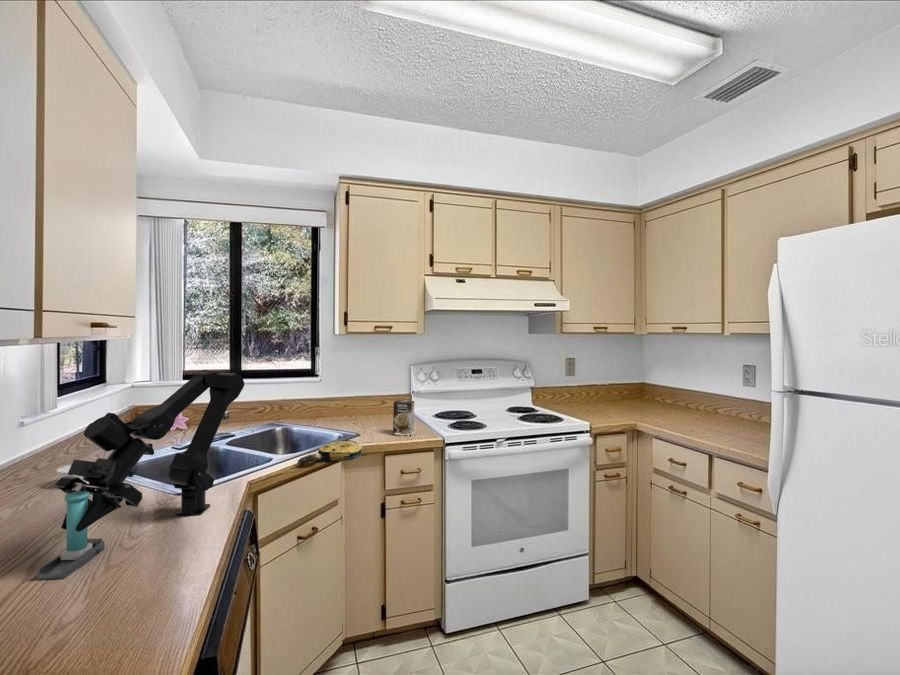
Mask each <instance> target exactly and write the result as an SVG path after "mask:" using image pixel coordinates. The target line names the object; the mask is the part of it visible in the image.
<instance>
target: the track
mask: <svg viewBox="0 0 900 675" xmlns="http://www.w3.org/2000/svg"><path fill="white" fill-rule="evenodd" d="M87 543H93V544H92V548H91V549H90V550H88V551H87V552H86V553H84V554H83V555H81V556H80V557H78V558H77V559H76V560H61V553H60V554H59V555H57V556H56V557H54V558H53V559H51V560H49V561H48V562H46V563H45V564H44V565H42V566H40V567H39V568H37V580H57V579H58V580H59V579H61V580H62V579H66V578H67V577H69V576H70V575H72V574H73V573H74V572H75V571H77V570H78V569H80V568H82V566H84V565H85V564H86V563H88V562H89V561H90V560H92V559H94V557H96V556H97V555H99V554H100V553H101V552H103V551H104V550H105V540H103V538H87Z"/></svg>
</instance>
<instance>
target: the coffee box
mask: <svg viewBox="0 0 900 675" xmlns="http://www.w3.org/2000/svg"><path fill="white" fill-rule="evenodd" d="M414 419H415V401H414V400H399V399H398V400H394V401H393V418H392V420H393V422H392V434H393V433H401V434H411V433H412V432H413V431H415V430H414V429H415V428H414V426H415V425H414V424H415V423H414V422H415V421H414Z"/></svg>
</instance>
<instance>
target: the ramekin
mask: <svg viewBox="0 0 900 675" xmlns="http://www.w3.org/2000/svg"><path fill="white" fill-rule="evenodd" d="M71 465H72V463H70V464H67V465H63V466H61V467H58V468H57V469H56V472H55V473H56V475H57V478H58V481H59V480H60V478H62V477H66V476H71V477H79V478H80V479H82V480H83V476H77V475H68V472H69V469H70V467H71ZM83 481H84V482H86V483H89V482H88V481H85V480H83Z"/></svg>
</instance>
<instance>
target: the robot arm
mask: <svg viewBox="0 0 900 675" xmlns="http://www.w3.org/2000/svg"><path fill="white" fill-rule="evenodd" d="M244 387H245V381H244V379H243V376H242V375H241V374H239V373H228V372H219V373H217V374H214V373H211V372H204V371H203V372H201V371H199V372H196V373H194V375H193V376H192V377H191V378H190V379H188V381H187V382H186V383H184V384H183V385H182V386H181V387H179V388H178V389H177V390H176V391H174V393H173V394H171V395H170V396H169V397H167V399H165V400H164V401H163V402H162V403H160V404H158V405H157V406H154V407H150V408H149V409H146V410H144V411H143V412H142V413H140V414H138V415H137V416H135V417H133V419H132V420H130V421H127V422H124V421H123V420H122V419H121V418H120V417H119V416H118V415H117V414H116V413H114V412H107V413H106V414H105V415H104V416H102V417H99V418H97V419H96V420H94V421H92V422H90V423H89V424H88V425H87V426H86V427H85V430H84V431H83V436H84V437H85V438H86V439H88V440H89V441H90V442H92V443H93V444H94V445H95V446H97V447H98V448H100V449H101V450H103V451H104V452H110V451H112V452H111V453H110V454H109V456H108V457H107V458H101V457H98V458H97V459H96V460H95V461H90V460H89V461H88V460H82V459H73V461H72V463H71V464H72V465H71V464H70V465H71V467H70V469H69V472H68V475H77V476H83V480H85V481H88V482H89V484H87V483H86V482H84V481H83V480H82V479H80V478H79V477H71V476H66V477H62V478H60V480H59V479H58V481H57V482H56V483H55V485H54V487H55V488H56V489H58V490H60V491H61V492H63V493H64V494H65V495H67V494H70V493H73V492H79V491H88V492H89V497H88V510H87V511H86V513H85V514H84V516H83V517H82V519H81V520H80V522H79V523H78V525H77V527H76V529H75V530H76V531H78V532H80V531H82V530H83V529H85V528H86V527H87V528H88V527H89V526H91V525H92V524H94V523H96V522H97V521H98V520H100V519H101V518H103V517H105V516H107V515H109V514H110V513H112V512H113V511H115V510H118V509H121V508H122V505H121V503H122V501H123V500H125V506H127V507H133V508H137V507H138V506H139V504H140V503H141V502H142V501H143V493H142V492H141V491H140V490H138V488H136V487H134V486H133V485H132V484H131V483H128V482H127V483H126V482H125V480H127V478H133V476H135V472H134V471H133V469H135V467H136V466H137V464H138V463H139V461H140V460H141V459H142V457H143V456H144V455H146V456H153V455H155V450H154V448H153V446H154V444H153V443H148V442H147V443H146V442H145V441H143V439H145V440H150V441H151V440H152V441H153V440H154V441H157V440H160V439H162V438H164V437H165V436H167V434H168V432H170V431H171V430H170V429H171V428H172V426H173V425H174V421H175V418H176V417H177V416H178V415H179V414H180V413H181V412H182V413H183V411H184V410H185V409H187V408H188V407H189V406H190V405H192V404H193V403H194V401H195V400H197V399H198V398H199V397H201V396H202V395H203V393H204V392H206V391H207V390H208V389H209V390H208V391H209V399H210V400H209V403H207V404H208V405H207V407H206V408H205V411H204V412H203V416H202V417H201V419H200V421H199V424H198V426H197V428H196V431H195V432H194V434H193V437H192V439H191V441H190V443H189V445H188V447H187V448H186V450H185V451H183V452H182V453H179V452H177V453H176V454H175V455H174V458H173V460H172V462H171V464H170V465H169V466H168V469H169V471H168V477H169V481H171V483H172V485H173V488H175V489H179V490H180V491H181V492H180V494H181V496H180V497H181V503H180V504H181V505H180V506H181V508H180V509H179V510H178V511H176V512H175V516H197V515H198V516H200V515H202V514H203V513H204V512H205V511H206V510H208V509H209V508H210V507H211V503H206V495H207V494H206V493H207V492H206V491H208V490H209V489H212V488H213V486H214V484H215V483H214V482H215V478H213V477H212V476H211V475H210V474H208V472H207V470H208V467H209V461H208V452H209V450H210V448H211V445H212V444H213V441H214V439H215V437H216V435H217V432H218V429H219V427H220V426H221V423H222V421H223V419H224V416H225V414H226V411H227V409H228V407H229V406H230V404H232V403H233V402H234V401H235V400H236V399H238V398H239V396H240V394H241V392H242V391H243V389H244ZM133 436H134V437H133ZM91 497H92V498H91ZM61 529H63V530H66V531H67V512H66V513H65V516H64V518H63V521H62V524H61Z"/></svg>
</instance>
